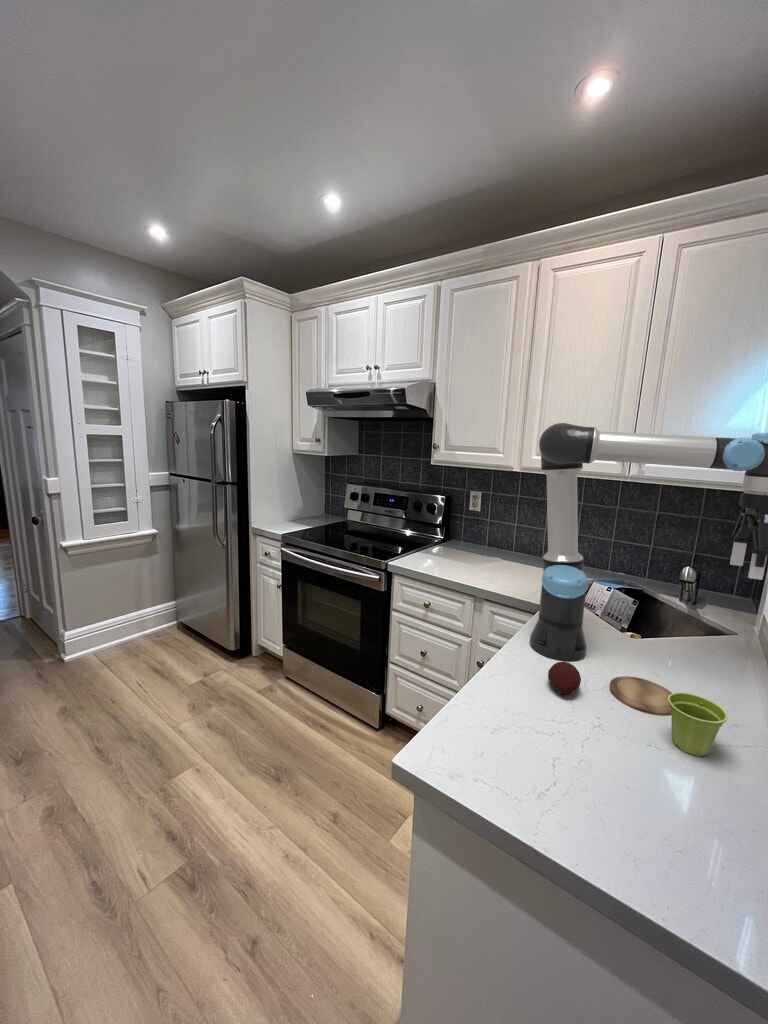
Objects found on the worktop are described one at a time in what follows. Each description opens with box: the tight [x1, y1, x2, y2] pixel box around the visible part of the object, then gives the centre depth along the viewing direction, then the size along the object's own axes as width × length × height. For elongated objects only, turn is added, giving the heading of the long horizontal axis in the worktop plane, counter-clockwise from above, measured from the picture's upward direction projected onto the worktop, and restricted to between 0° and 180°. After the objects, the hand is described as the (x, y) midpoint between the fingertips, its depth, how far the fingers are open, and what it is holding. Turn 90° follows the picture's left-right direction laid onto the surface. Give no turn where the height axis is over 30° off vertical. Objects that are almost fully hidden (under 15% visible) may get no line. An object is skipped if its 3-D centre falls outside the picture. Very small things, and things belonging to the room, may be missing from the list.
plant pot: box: [668, 691, 729, 757], centre depth 83 cm, size 9×9×9 cm
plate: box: [609, 675, 673, 716], centre depth 100 cm, size 14×14×1 cm
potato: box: [547, 661, 582, 695], centre depth 101 cm, size 7×10×6 cm
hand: (745, 571), depth 113 cm, fingers open, 13 cm apart
